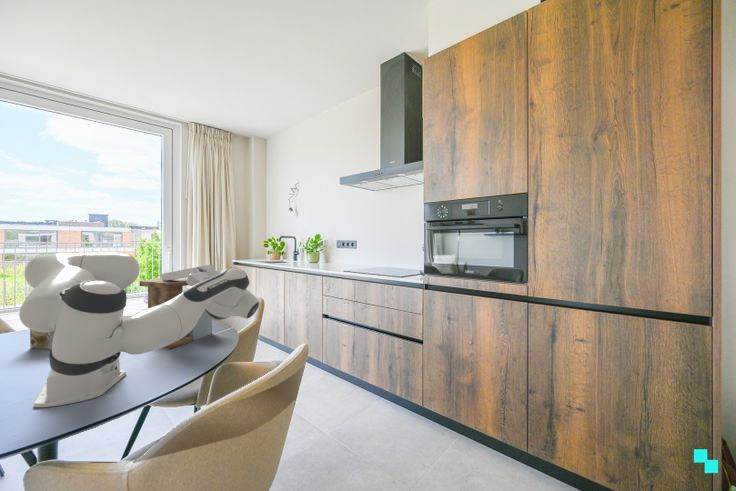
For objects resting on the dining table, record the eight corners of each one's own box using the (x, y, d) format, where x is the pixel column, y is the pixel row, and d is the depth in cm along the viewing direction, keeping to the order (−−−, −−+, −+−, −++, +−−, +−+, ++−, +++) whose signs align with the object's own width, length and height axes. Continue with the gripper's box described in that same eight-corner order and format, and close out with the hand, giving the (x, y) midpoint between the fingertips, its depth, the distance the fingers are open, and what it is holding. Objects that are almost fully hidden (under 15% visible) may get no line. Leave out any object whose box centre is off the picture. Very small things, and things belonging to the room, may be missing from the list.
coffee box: (28, 348, 120) (28, 307, 120) (47, 343, 127) (47, 304, 126) (49, 349, 119) (49, 308, 119) (67, 344, 126) (67, 305, 125)
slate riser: (212, 333, 141) (212, 301, 141) (193, 340, 131) (193, 305, 131) (195, 331, 144) (195, 299, 144) (175, 338, 135) (175, 303, 134)
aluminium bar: (215, 271, 122) (214, 264, 123) (207, 272, 119) (206, 265, 119) (171, 280, 130) (170, 273, 130) (162, 281, 126) (161, 274, 126)
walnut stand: (192, 341, 130) (192, 280, 130) (170, 349, 121) (170, 283, 120) (161, 336, 136) (161, 278, 136) (138, 344, 127) (137, 281, 126)
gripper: (198, 299, 109) (173, 278, 113) (240, 290, 129) (217, 272, 132) (205, 284, 108) (180, 263, 112) (246, 277, 127) (223, 260, 131)
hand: (200, 268), depth 122 cm, fingers closed on aluminium bar, 4 cm apart
